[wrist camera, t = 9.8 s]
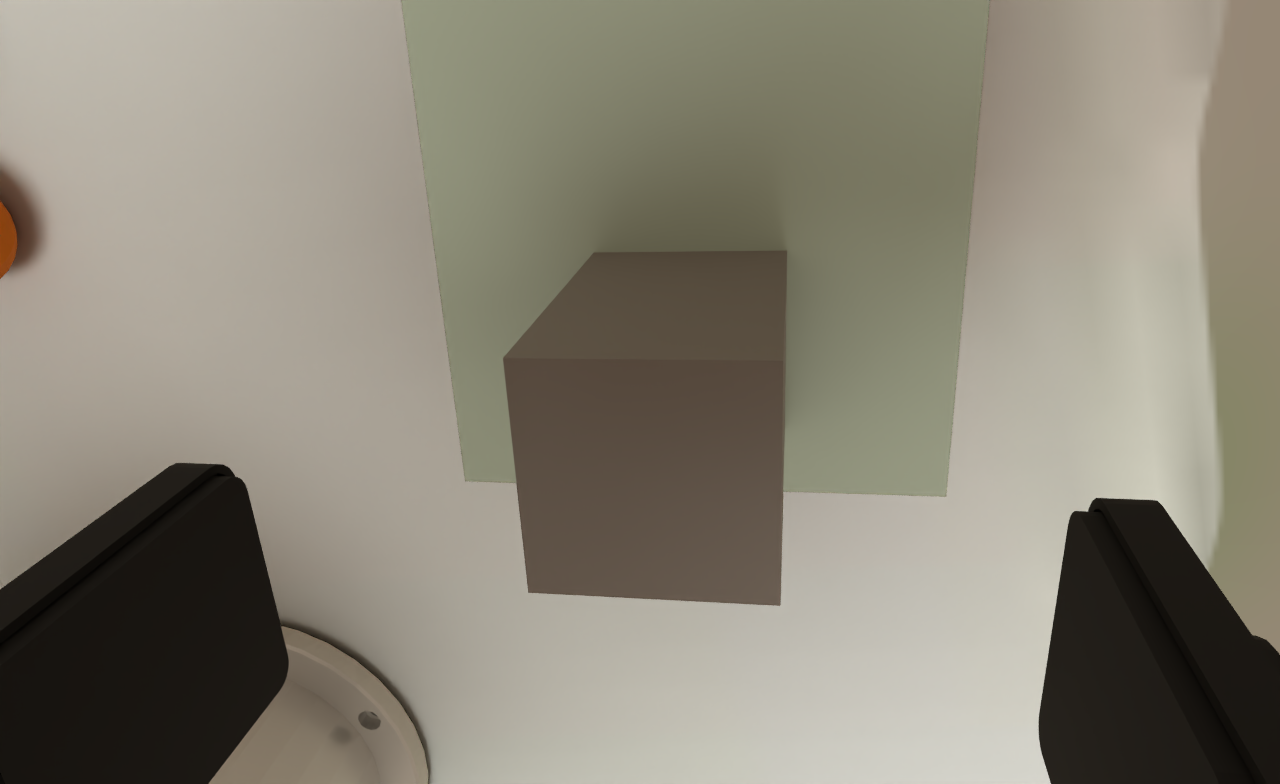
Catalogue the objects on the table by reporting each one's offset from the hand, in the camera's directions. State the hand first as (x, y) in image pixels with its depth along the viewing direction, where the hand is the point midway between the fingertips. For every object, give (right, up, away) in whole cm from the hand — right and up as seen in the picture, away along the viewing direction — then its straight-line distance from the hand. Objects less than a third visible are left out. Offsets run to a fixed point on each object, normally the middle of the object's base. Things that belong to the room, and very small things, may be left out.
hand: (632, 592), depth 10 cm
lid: (+1, +10, +7) cm, 12 cm away
